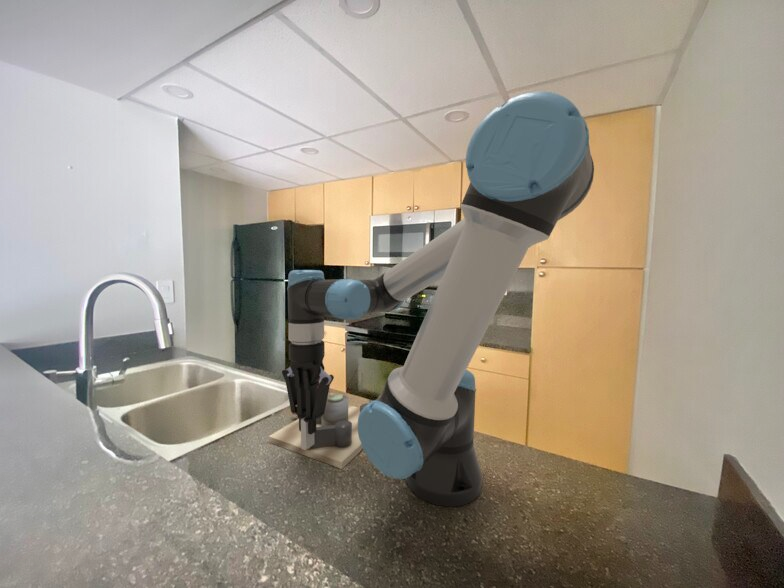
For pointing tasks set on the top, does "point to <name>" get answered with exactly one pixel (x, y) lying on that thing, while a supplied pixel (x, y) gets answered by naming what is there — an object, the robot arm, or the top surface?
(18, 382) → the top surface
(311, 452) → the tribrach board
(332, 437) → the knob
